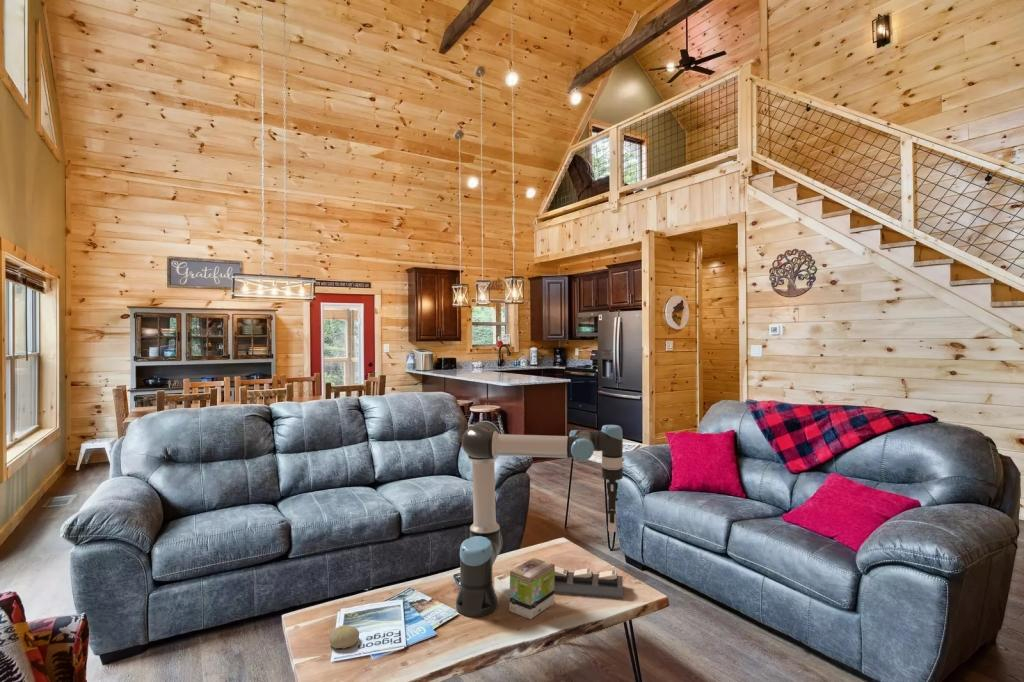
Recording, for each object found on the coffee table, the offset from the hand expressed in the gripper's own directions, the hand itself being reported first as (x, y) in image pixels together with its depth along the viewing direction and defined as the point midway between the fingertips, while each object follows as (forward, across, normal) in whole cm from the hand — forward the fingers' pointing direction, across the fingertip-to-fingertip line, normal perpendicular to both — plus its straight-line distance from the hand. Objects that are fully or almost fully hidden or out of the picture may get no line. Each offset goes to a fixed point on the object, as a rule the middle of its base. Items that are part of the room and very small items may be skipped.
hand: (612, 524), depth 201 cm
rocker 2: (+22, +6, +11) cm, 25 cm away
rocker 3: (+22, +6, +2) cm, 23 cm away
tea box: (+28, -11, +28) cm, 41 cm away
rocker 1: (+22, +6, +21) cm, 31 cm away
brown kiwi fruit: (+29, -44, +84) cm, 99 cm away
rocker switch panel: (+28, +6, +11) cm, 31 cm away
